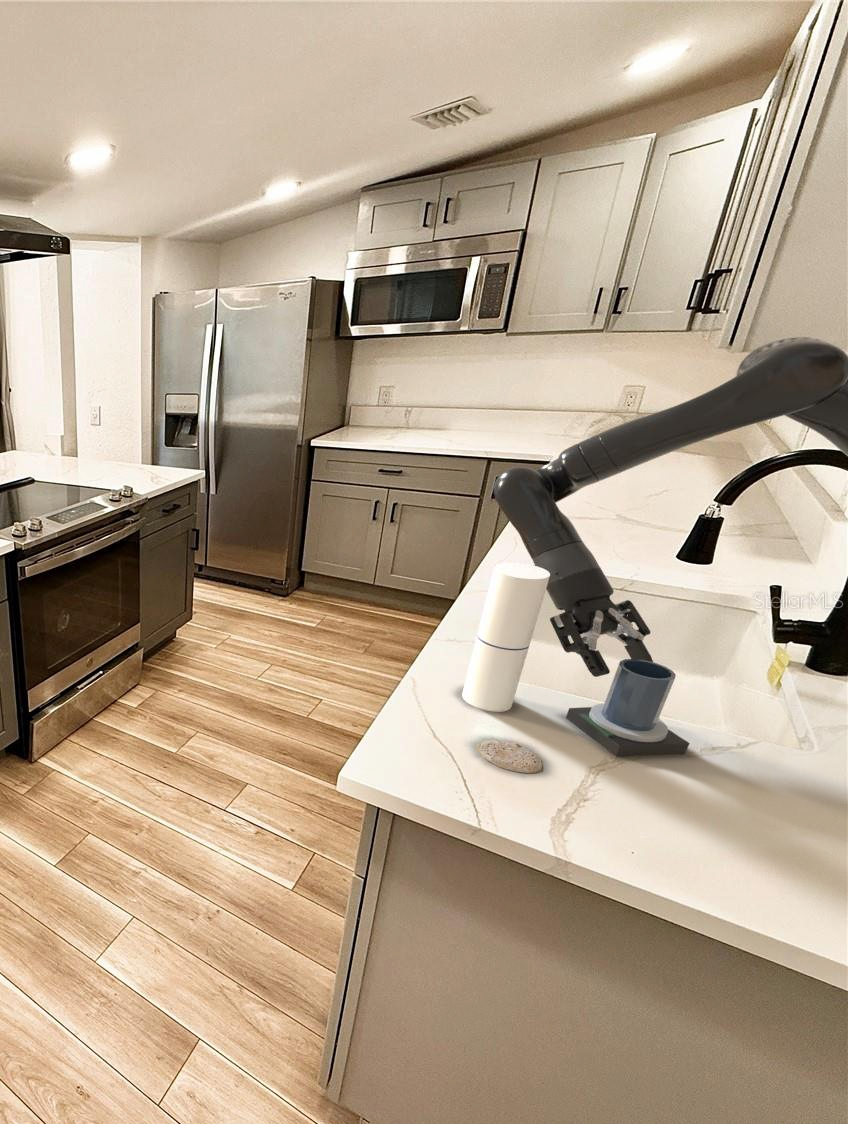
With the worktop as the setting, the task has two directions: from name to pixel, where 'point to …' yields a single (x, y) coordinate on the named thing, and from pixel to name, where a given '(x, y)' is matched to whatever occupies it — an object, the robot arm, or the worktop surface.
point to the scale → (626, 735)
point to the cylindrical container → (504, 635)
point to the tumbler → (638, 694)
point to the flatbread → (510, 756)
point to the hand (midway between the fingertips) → (624, 670)
